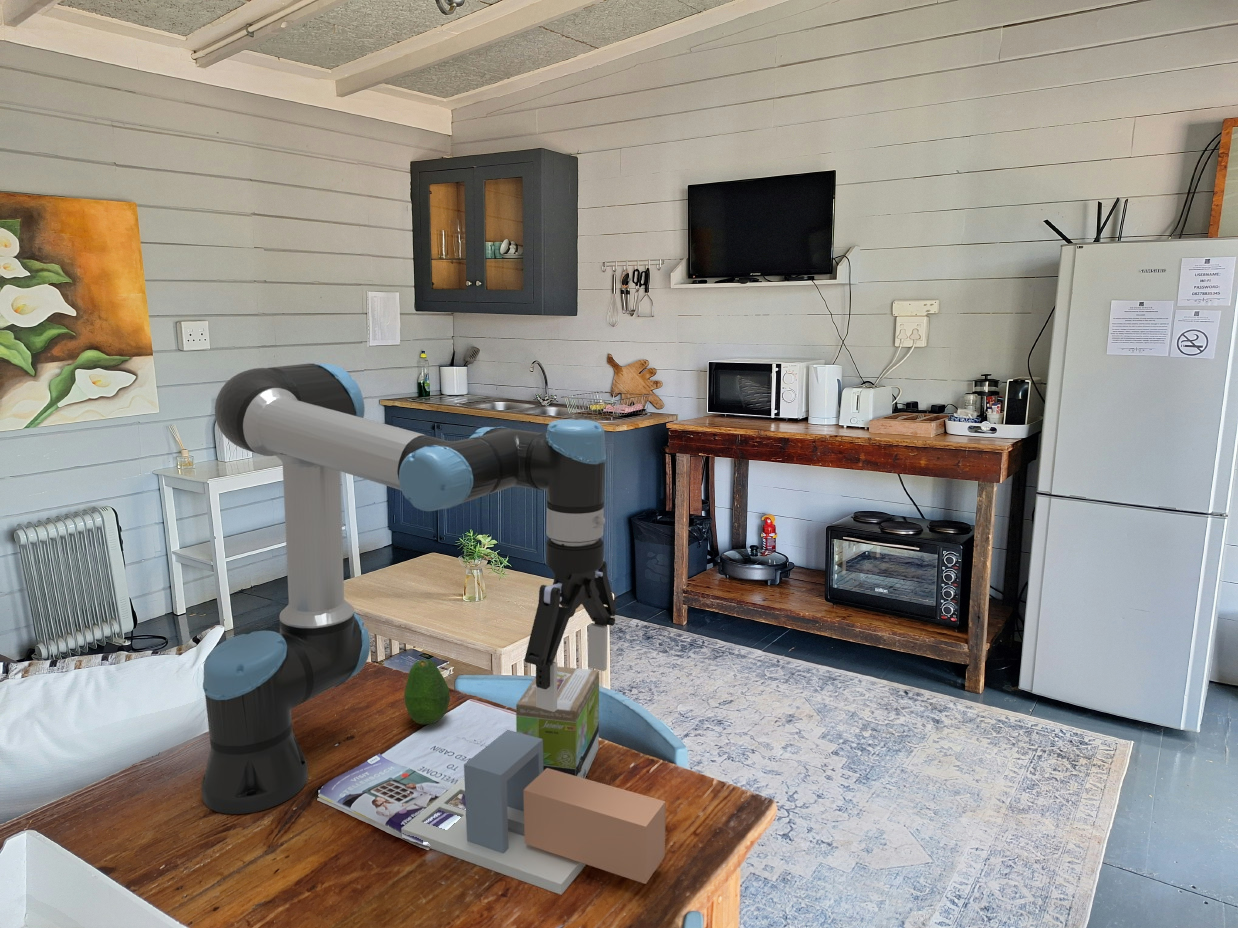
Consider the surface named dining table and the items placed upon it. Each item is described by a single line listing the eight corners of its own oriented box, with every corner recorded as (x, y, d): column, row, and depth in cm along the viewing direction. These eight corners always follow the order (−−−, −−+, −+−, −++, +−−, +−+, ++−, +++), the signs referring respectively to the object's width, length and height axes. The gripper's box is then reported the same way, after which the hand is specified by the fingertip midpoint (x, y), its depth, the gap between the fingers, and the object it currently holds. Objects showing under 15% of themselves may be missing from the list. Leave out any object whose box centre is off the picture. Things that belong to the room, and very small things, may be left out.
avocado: (396, 724, 150) (393, 661, 147) (430, 707, 156) (427, 647, 154) (427, 738, 145) (424, 673, 143) (460, 720, 151) (458, 657, 149)
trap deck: (401, 837, 118) (396, 753, 116) (462, 787, 130) (459, 709, 128) (561, 894, 107) (559, 801, 104) (611, 833, 119) (611, 749, 116)
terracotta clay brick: (524, 843, 113) (523, 789, 112) (547, 819, 119) (546, 767, 117) (645, 883, 105) (646, 826, 104) (664, 856, 111) (665, 801, 109)
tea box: (578, 800, 127) (577, 709, 124) (515, 792, 129) (512, 703, 126) (600, 749, 141) (599, 667, 139) (543, 743, 143) (541, 662, 141)
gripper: (548, 569, 98) (547, 735, 102) (642, 520, 120) (637, 659, 124) (496, 558, 101) (497, 719, 105) (595, 513, 123) (593, 648, 127)
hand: (573, 687), depth 115 cm, fingers open, 13 cm apart
